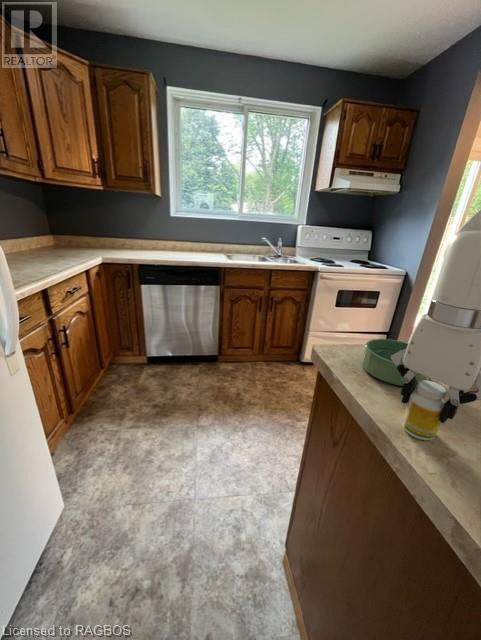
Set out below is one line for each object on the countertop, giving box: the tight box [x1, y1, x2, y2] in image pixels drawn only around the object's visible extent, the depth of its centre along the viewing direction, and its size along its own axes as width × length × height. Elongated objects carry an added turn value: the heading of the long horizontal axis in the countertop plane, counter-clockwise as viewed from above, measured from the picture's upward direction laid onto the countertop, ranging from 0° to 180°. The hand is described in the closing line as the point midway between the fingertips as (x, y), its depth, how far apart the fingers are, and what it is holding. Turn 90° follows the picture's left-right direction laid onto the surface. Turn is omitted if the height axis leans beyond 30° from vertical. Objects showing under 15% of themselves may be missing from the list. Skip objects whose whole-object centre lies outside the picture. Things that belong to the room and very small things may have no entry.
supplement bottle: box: [401, 380, 447, 441], centre depth 49 cm, size 5×5×10 cm
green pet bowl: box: [361, 338, 430, 388], centre depth 69 cm, size 15×15×6 cm
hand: (424, 408), depth 48 cm, fingers closed on supplement bottle, 5 cm apart
